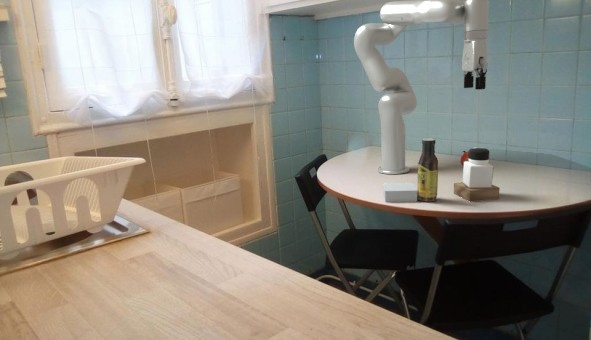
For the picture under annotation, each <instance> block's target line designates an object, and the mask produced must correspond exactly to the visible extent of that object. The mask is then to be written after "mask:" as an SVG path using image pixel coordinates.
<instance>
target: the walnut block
mask: <svg viewBox="0 0 591 340" xmlns="http://www.w3.org/2000/svg"><path fill="white" fill-rule="evenodd" d="M453 194H454V195H455V196H458V197H460V198H461V197H462V198H461V199H463V200H466V201H467V200H468V201H467V202H469V201H470V202H471V201H473V202H479V201H480V202H481V200H482V201H489V200H490V199H491V200H500V187H499V186H497V185H494V184H492V187H491V188H469V187H468V186H467V185H465V184H464V183H463V181H462V182H455V183H453ZM470 202H469V203H470ZM471 203H472V202H471Z"/></svg>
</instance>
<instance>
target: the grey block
mask: <svg viewBox="0 0 591 340" xmlns="http://www.w3.org/2000/svg"><path fill="white" fill-rule="evenodd" d="M382 187H383V188H382V189H383V190H382V191H383V198H384V202H385V203H402V202H403V203H405V202H406V203H407V202H408V203H410V202H411V203H412V202H414V203H415V202H416V203H417V202H418V194H417V187H416V185H415V183H414V182H384V183H382Z"/></svg>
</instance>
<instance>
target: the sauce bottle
mask: <svg viewBox="0 0 591 340" xmlns="http://www.w3.org/2000/svg"><path fill="white" fill-rule="evenodd" d="M421 145H422V151H421V154H420V157H419V160H418V162H417V187H416V189H417V200H419V201H421V202H428V203H429V202H430V203H431V202H435V201H437V199H438V185H439V184H438V183H439V182H438V181H439V161H438V156H436V154H435V152H436V151H435V149H436V139H435V138H431V137H426V138H422V139H421Z"/></svg>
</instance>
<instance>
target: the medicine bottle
mask: <svg viewBox="0 0 591 340" xmlns="http://www.w3.org/2000/svg"><path fill="white" fill-rule="evenodd" d="M468 151H469V161H465V162H464V166H463V171H462V182H463V183H464V184H465V185H467V186H468V187H469V188H491V187H492V185H493V178H494V177H493V175H494V166H493V165H492V164H491V163H489V161H490V150H489V149H487V148H485V147H472V148H470V149H469V150H468Z"/></svg>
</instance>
